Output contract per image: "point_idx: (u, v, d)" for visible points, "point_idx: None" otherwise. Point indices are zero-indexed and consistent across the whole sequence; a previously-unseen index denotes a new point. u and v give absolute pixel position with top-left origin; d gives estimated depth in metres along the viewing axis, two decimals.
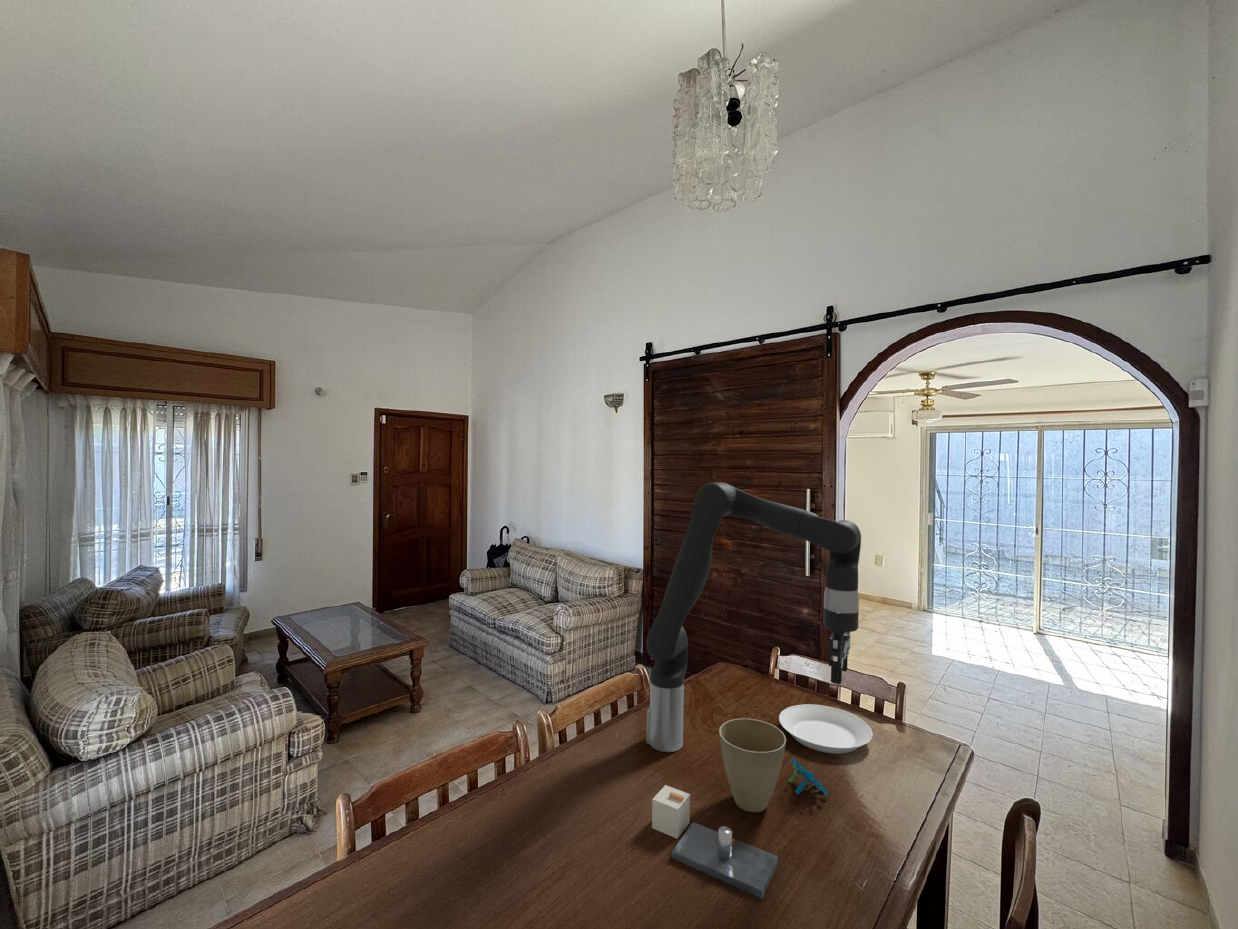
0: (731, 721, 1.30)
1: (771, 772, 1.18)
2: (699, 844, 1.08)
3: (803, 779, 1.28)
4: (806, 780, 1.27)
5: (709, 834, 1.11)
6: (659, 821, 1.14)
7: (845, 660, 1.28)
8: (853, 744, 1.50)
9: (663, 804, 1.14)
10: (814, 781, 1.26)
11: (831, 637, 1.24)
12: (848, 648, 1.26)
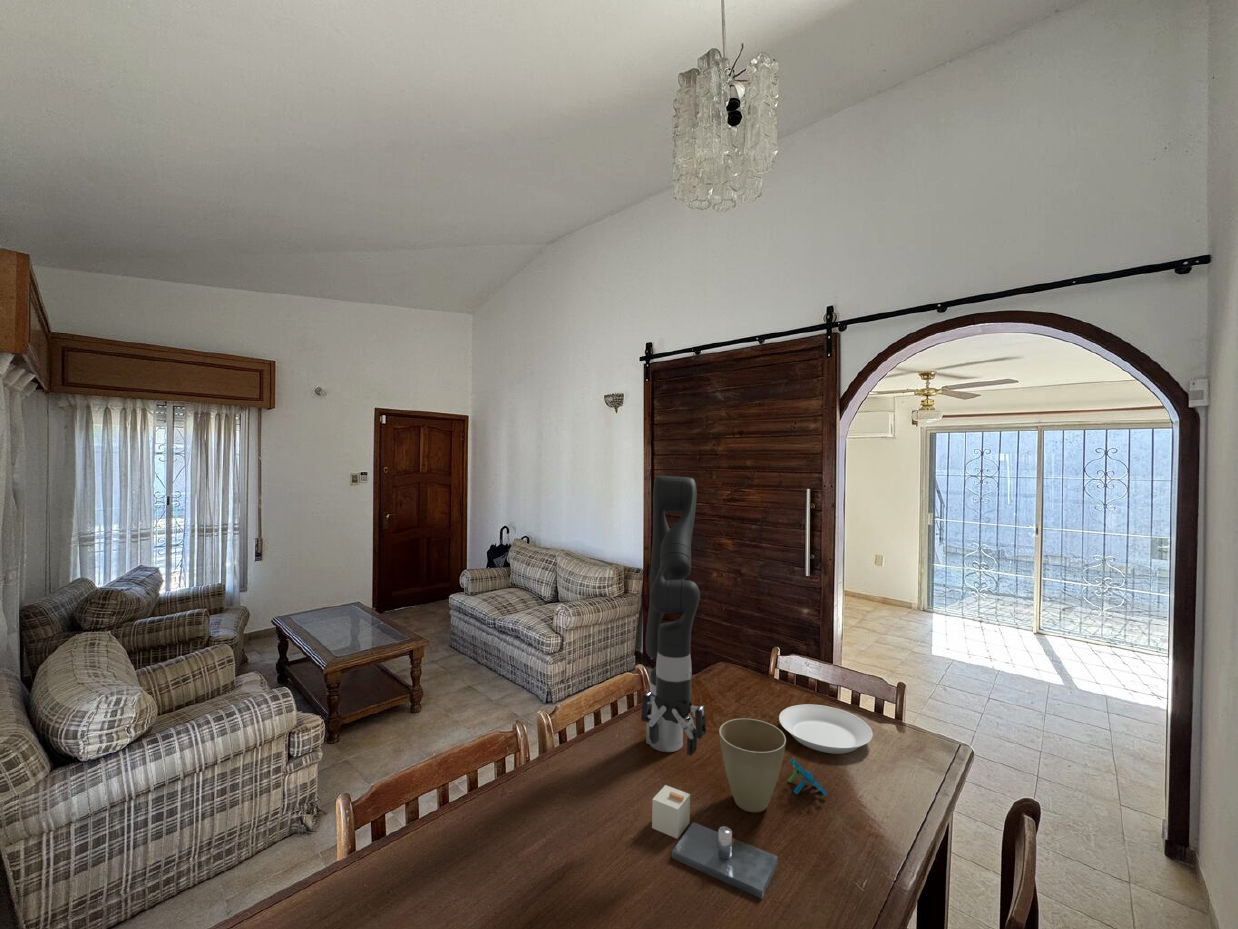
0: (731, 721, 1.30)
1: (771, 772, 1.18)
2: (699, 844, 1.08)
3: (802, 779, 1.28)
4: (805, 780, 1.27)
5: (709, 834, 1.11)
6: (659, 821, 1.14)
7: (658, 729, 1.18)
8: (853, 744, 1.50)
9: (663, 804, 1.14)
10: (813, 781, 1.26)
11: (677, 709, 1.13)
12: None
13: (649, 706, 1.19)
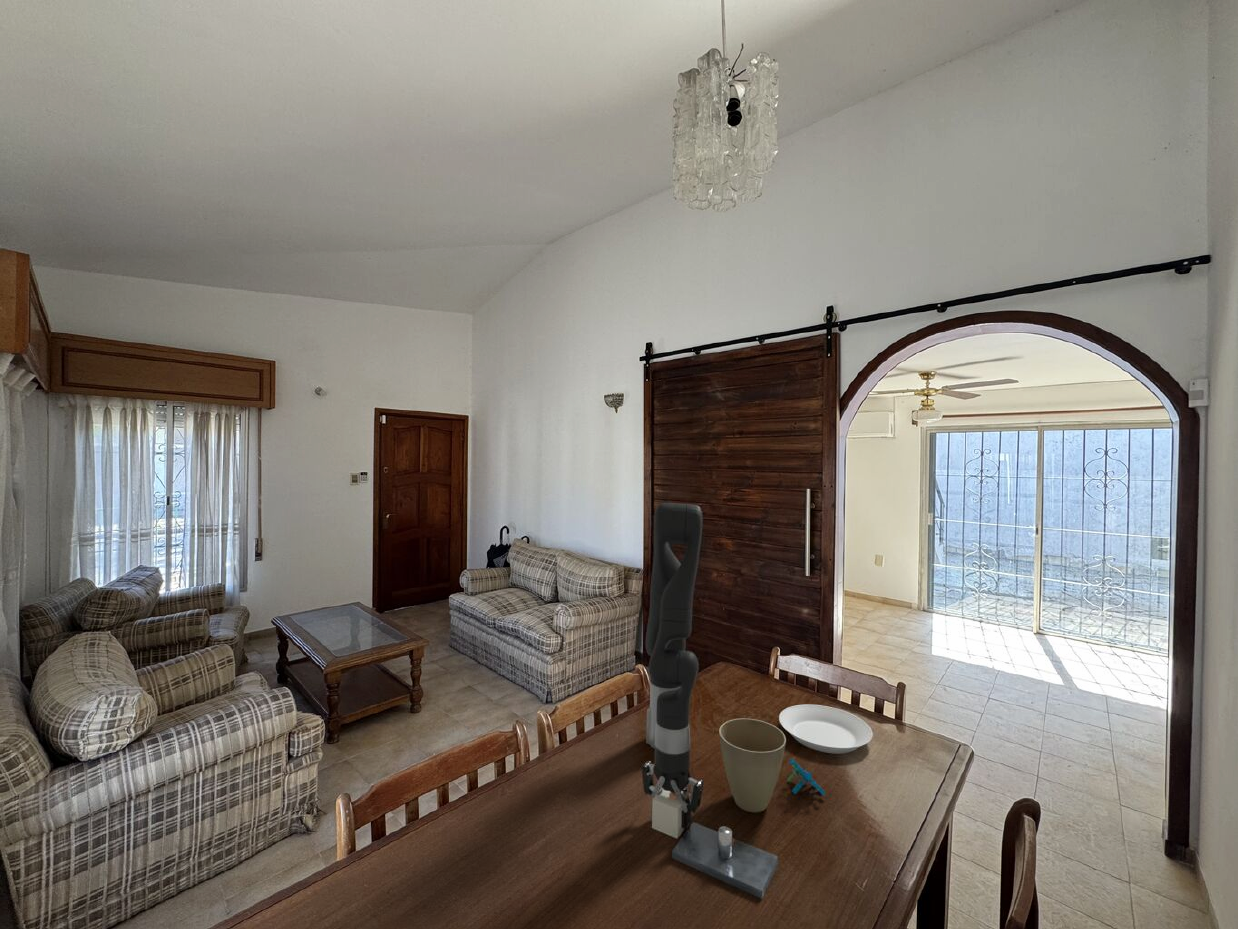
0: (731, 721, 1.30)
1: (771, 772, 1.18)
2: (699, 844, 1.08)
3: (801, 779, 1.28)
4: (803, 780, 1.28)
5: (709, 834, 1.11)
6: (659, 821, 1.14)
7: None
8: (853, 744, 1.50)
9: (663, 804, 1.14)
10: (811, 781, 1.26)
11: (676, 781, 1.14)
12: None
13: (650, 777, 1.19)
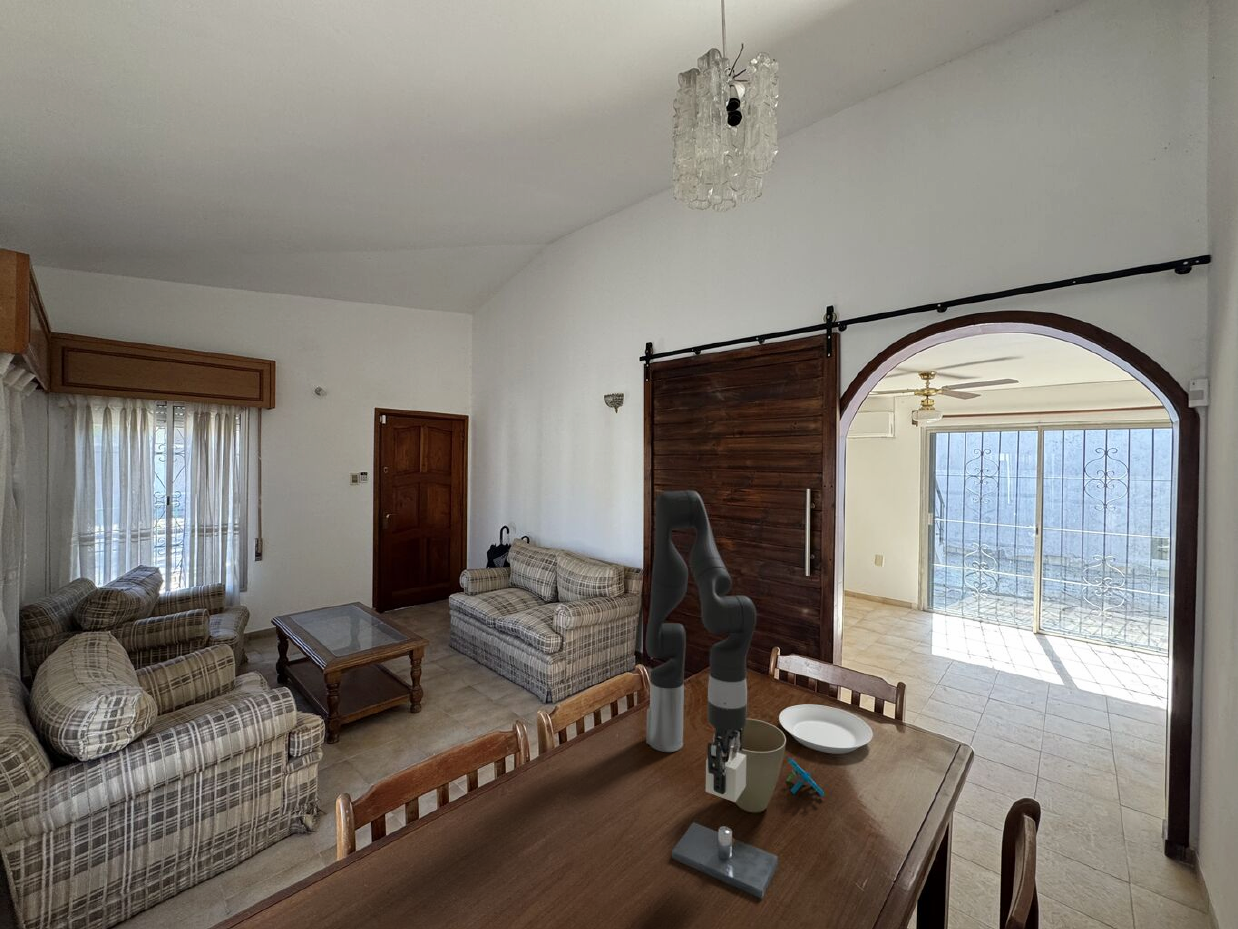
0: None
1: (771, 772, 1.18)
2: (699, 844, 1.08)
3: (799, 779, 1.28)
4: (802, 780, 1.28)
5: (709, 834, 1.11)
6: (738, 786, 1.03)
7: None
8: (853, 744, 1.50)
9: (740, 763, 1.04)
10: (809, 781, 1.26)
11: None
12: None
13: None
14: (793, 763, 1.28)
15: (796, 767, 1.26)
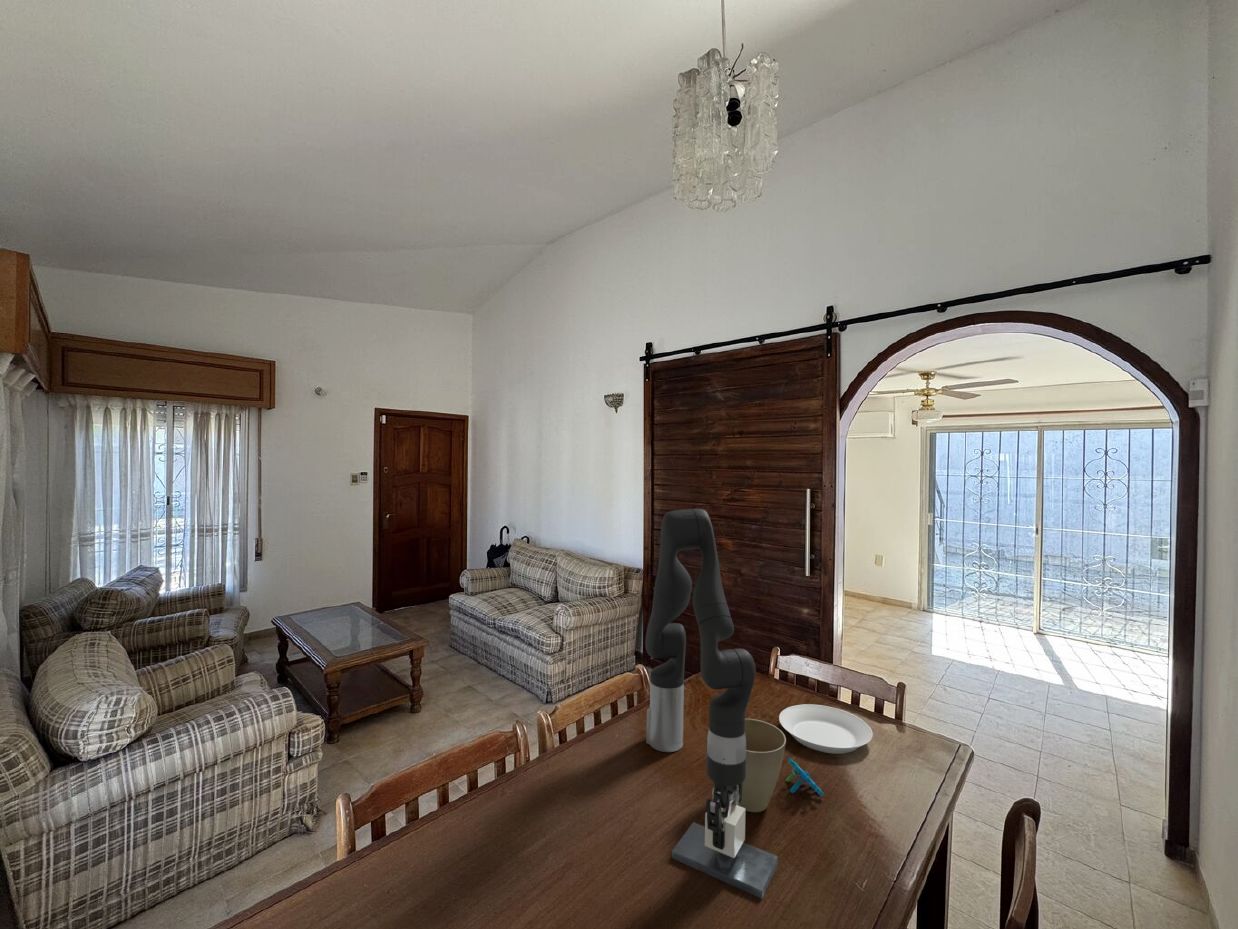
0: None
1: (771, 772, 1.18)
2: (699, 844, 1.08)
3: (798, 778, 1.28)
4: (801, 779, 1.28)
5: None
6: (737, 841, 1.03)
7: None
8: (853, 744, 1.50)
9: (739, 818, 1.04)
10: (808, 781, 1.26)
11: None
12: None
13: None
14: (792, 763, 1.28)
15: (795, 767, 1.26)
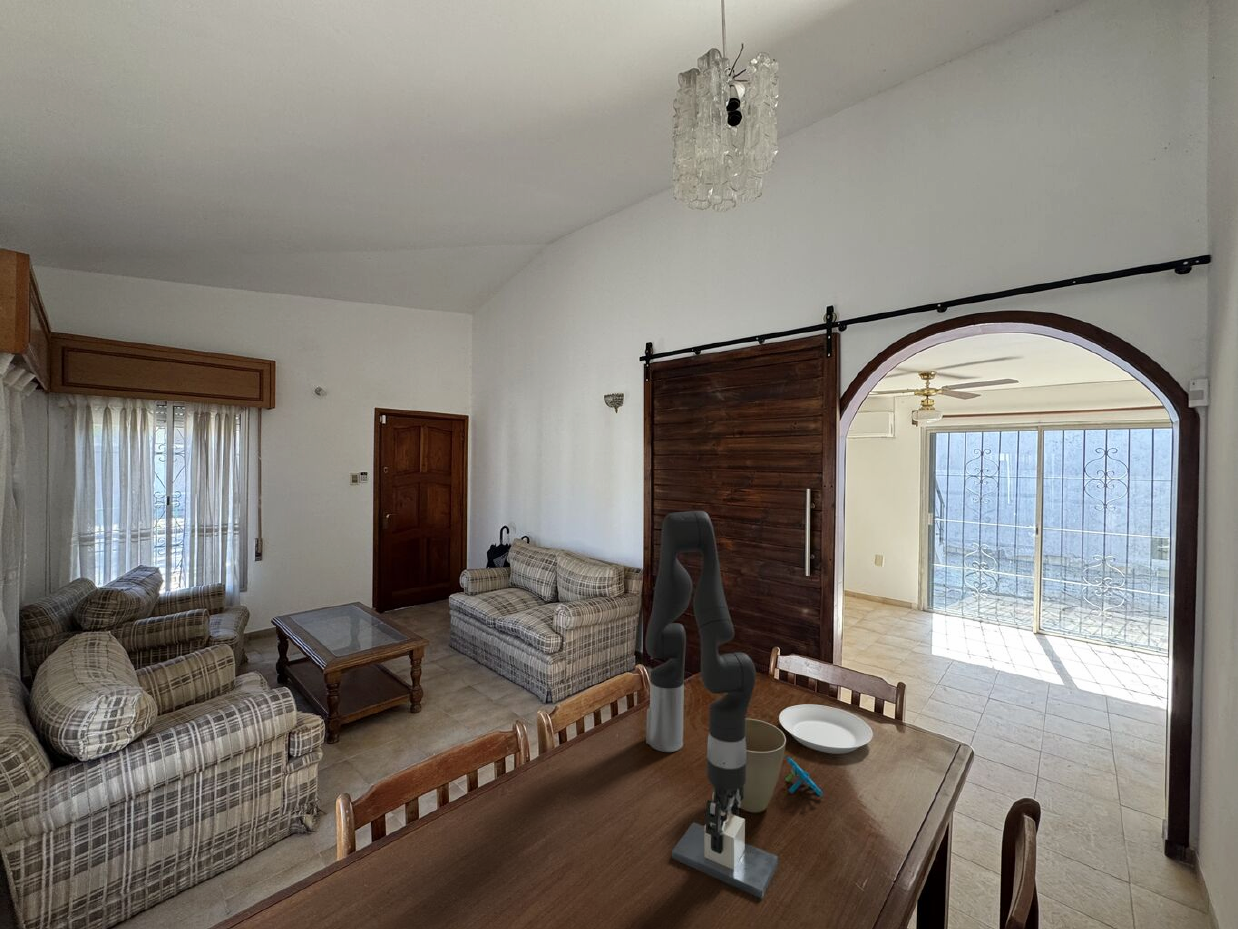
0: None
1: (771, 772, 1.18)
2: (699, 844, 1.08)
3: (798, 778, 1.28)
4: (800, 779, 1.28)
5: None
6: (737, 853, 1.03)
7: None
8: (853, 744, 1.50)
9: (739, 830, 1.04)
10: (807, 781, 1.26)
11: None
12: None
13: None
14: (791, 762, 1.28)
15: (794, 766, 1.26)
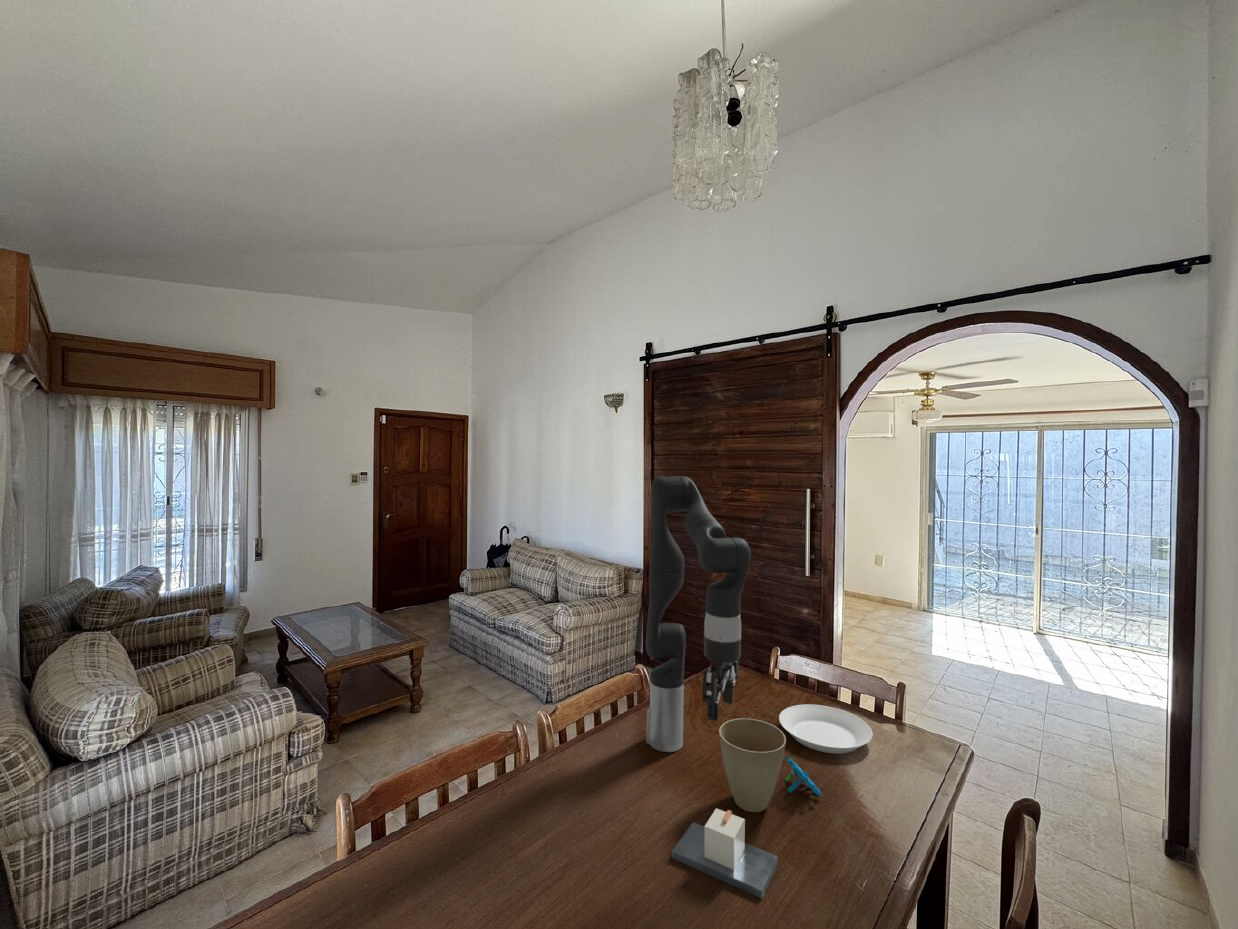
0: (731, 721, 1.30)
1: (771, 772, 1.18)
2: (699, 844, 1.08)
3: (797, 778, 1.28)
4: (799, 779, 1.28)
5: None
6: (737, 853, 1.03)
7: None
8: (853, 744, 1.50)
9: (739, 830, 1.04)
10: (806, 781, 1.26)
11: None
12: None
13: None
14: (790, 762, 1.28)
15: (793, 766, 1.27)
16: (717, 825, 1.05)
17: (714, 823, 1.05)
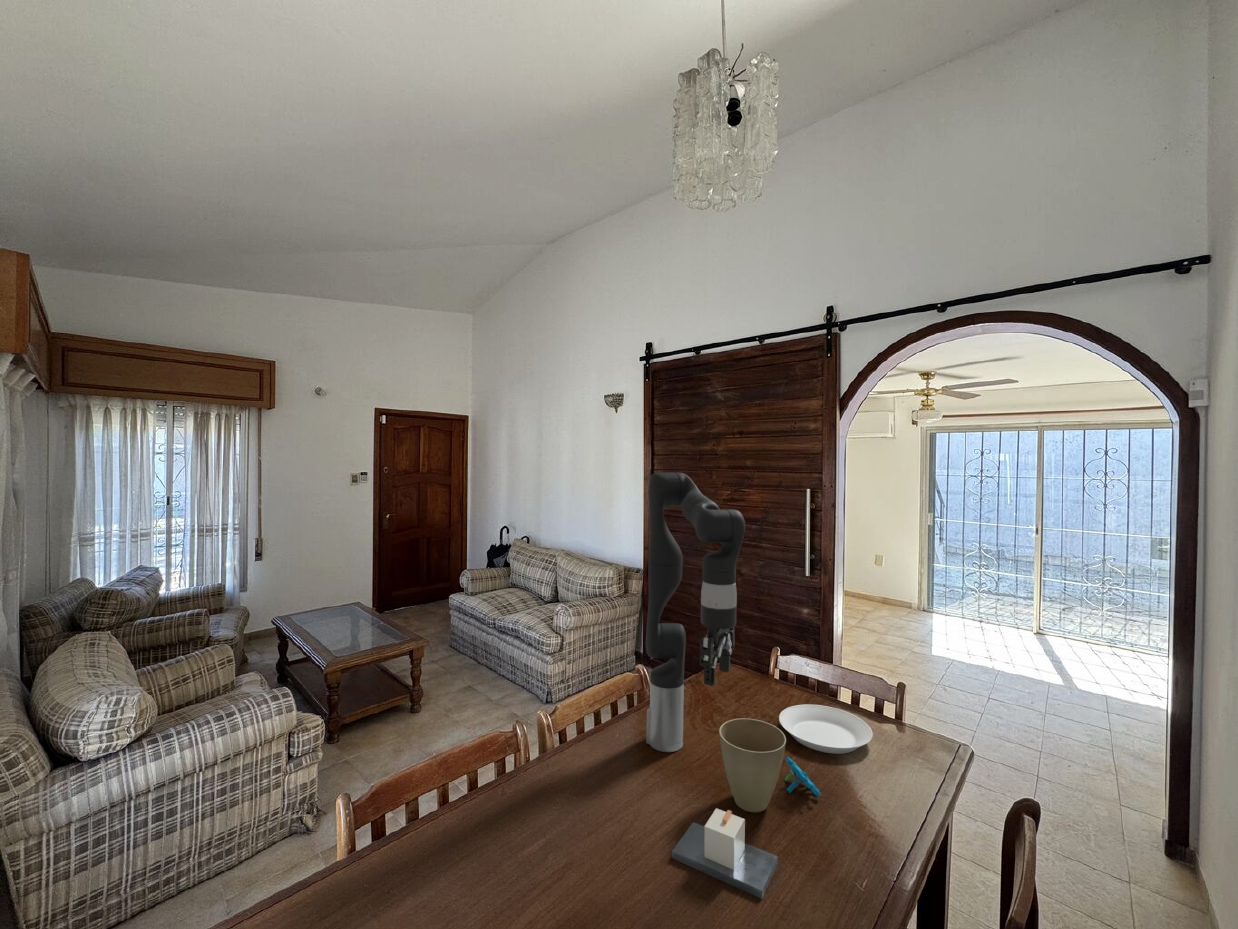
0: (731, 721, 1.30)
1: (771, 772, 1.18)
2: (699, 844, 1.08)
3: (796, 778, 1.28)
4: (798, 779, 1.28)
5: None
6: (737, 853, 1.03)
7: None
8: (853, 744, 1.50)
9: (739, 830, 1.04)
10: (805, 781, 1.26)
11: None
12: None
13: None
14: (789, 762, 1.28)
15: (792, 766, 1.27)
16: (717, 825, 1.05)
17: (714, 823, 1.05)
